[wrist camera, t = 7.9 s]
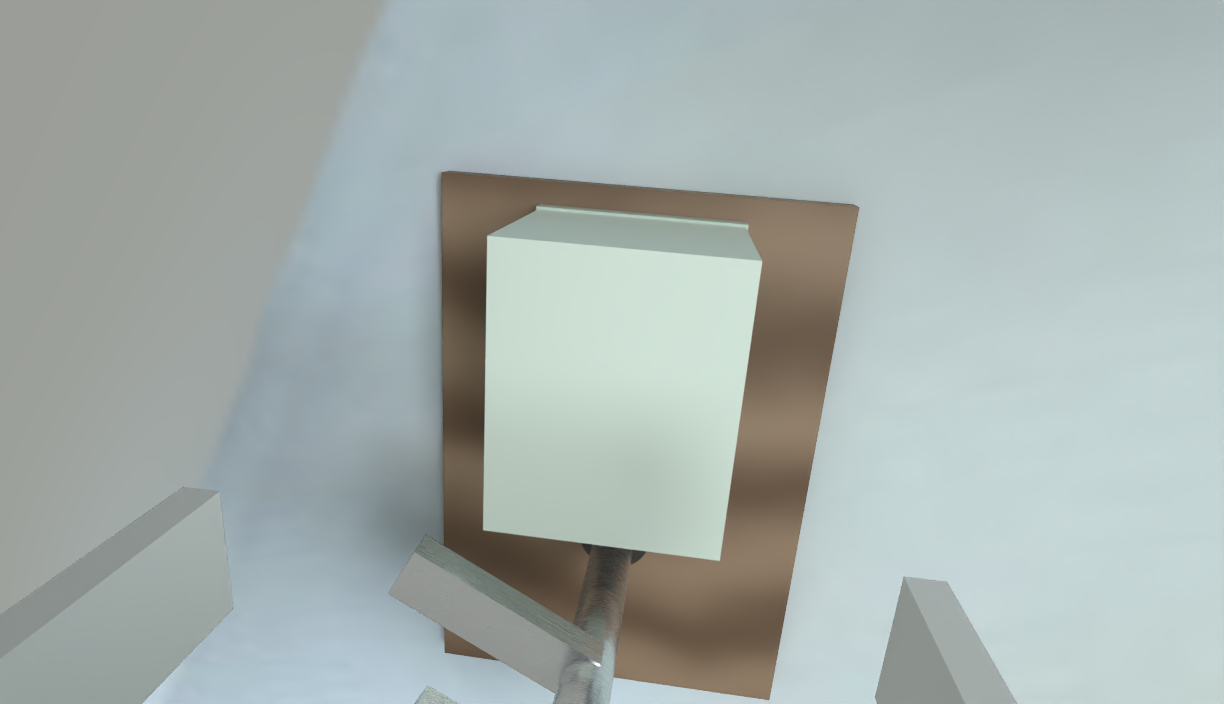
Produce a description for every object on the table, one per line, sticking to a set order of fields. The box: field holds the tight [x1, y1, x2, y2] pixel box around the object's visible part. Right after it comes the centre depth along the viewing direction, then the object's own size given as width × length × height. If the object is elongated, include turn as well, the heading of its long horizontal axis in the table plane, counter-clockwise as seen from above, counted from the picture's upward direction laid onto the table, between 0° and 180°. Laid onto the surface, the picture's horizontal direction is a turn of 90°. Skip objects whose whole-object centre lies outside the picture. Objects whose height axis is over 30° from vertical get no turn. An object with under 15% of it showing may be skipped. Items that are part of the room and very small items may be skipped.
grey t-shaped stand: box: [388, 535, 633, 704], centre depth 24 cm, size 12×3×16 cm, turn 57°
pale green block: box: [483, 204, 762, 561], centre depth 25 cm, size 10×8×8 cm
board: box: [442, 171, 859, 700], centre depth 31 cm, size 24×16×2 cm
